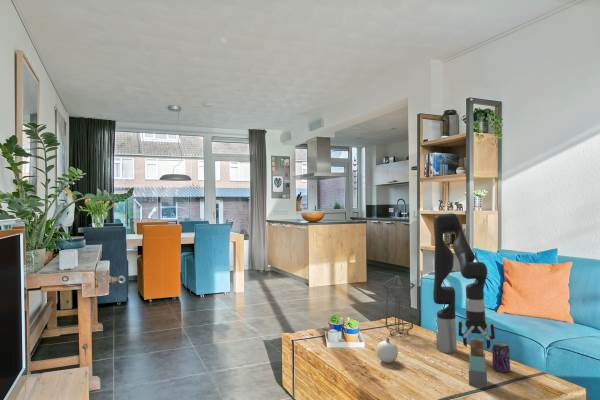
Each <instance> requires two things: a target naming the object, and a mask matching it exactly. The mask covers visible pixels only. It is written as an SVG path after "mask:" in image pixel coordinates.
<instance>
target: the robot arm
mask: <svg viewBox="0 0 600 400" xmlns="http://www.w3.org/2000/svg"><path fill="white" fill-rule="evenodd" d="M433 232H434V234H433V235H434V262H433V263H434V264H433V265H434V267H433V268H434V269H433V270H434V280H433V290H432V291H433V295H432V296H433V302H434V304H437V305H447V306H446V307H445V308H443V309H440V310H437V312H436V322H437V325H436V326H437V330H436V332H435V338H436V350H438V352H441V353H444V354H445V353H446V354H455V353H457V352H458V348H457V345H458V344H457V322H456V321H457V319H456V317H457V316H456V291H455V288H454V287H453V286H444V285H443V283H444V281H445V279H446V278H448V276H449V275H450V273H451V272H452V271H453V268H454V261H455V260H454V259H455V258H454V256H456V258H457V259H458V264H459V269H460V274H461V276H462V277H463V278H464V279H467V280H471V279H472V280H474V282H472V283H469V284H466V285H465V298H466V299H465V316H466V317H465V318H466V319H465V321H462V320H459V321H458V337H462V339H463V340H462V345H463V346H464V347H466V348H467V347H468V344H467V343H468V341H467V336H469V335H470V333H472V334H478V335H480V334H482V335H483V336H484V338H486V350H489V348H490V349H491V341H492V340H495V339H496V334H495V327H494V323H492V322H491V323H487V321H486V304H485V297H484V293H485V292H484V290H485V289H484V288H485V285H486V280H487V275H488V268H487V265H486V264H485V263H484V262H482V261H475V259H476V255H475V254H474V252H473V250H472V248H471V246H470V245H469V243H468V241H467V239H466V236H465V232H464V230H463V226H462V225H461V221H460V220H459V218H458V215H456V213H452V212H451V213H442V214H437V215H435V216H434V218H433ZM448 233H454V234H455V237H454V241H453V245H452V248H453V249H452V250H453V251H452V250H451V249H450V246H448V245H447V244H446V242H445V240H444V234H448ZM453 252H454V253H453ZM454 254H455V255H454ZM442 285H443V286H442ZM464 326H465V327H466V328H467V329H466V330H465V332H464V333H463V332H462V329H463V328H464ZM487 328H488V330H490V335H489V334H488V332H487V331H486V329H487Z"/></svg>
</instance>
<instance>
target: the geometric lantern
mask: <svg viewBox="0 0 600 400" xmlns="http://www.w3.org/2000/svg"><path fill="white" fill-rule="evenodd" d="M387 283H388V284H387ZM396 283H397V285H398V287H396V288H395V289H394V286H395V284H396ZM408 283H409V284H408ZM380 286H381V287H383V288H384V289H385V290H386V298H385V299H386V307H385V311H386V312H385V328H386V329H387V330H388V331H389V335H390V336H393V337H398V338H403V337H405V336H408V335H409V332H410V331H411V330H412V329H414V324H413V323H414V321H413V313H412V303H411V302H412V301H411V298H412V297H411V296H410V291H411V290H412V289H413V288H414V287H415V286H416V284H414V283H413V282H411V281H409V280H407V279H405V278H403V277H402V276H400V275H395V276H394V277H392V278H391V279H388V280H387V281H385V282H383V283H382V284H380ZM400 289H401V290H400ZM398 290H400V292H399V294H397V293H396V291H398ZM402 292H404V293H403V295H401V293H402ZM390 293H392V296H389V295H390ZM405 294H408V296H405ZM392 297H395V299H392ZM397 297H398V298H397ZM400 297H401V298H400ZM403 298H405V299H403ZM388 300H391V301H395V302H396V303H398V305H395V313H394V315H395V316H394V319H395V320H394V322H393V323H390V324H388V307H389V306H388V304H389V303H388ZM407 300H409V311H410V324H405V323H404V316H403V305H402V301H407ZM393 325H395V328H392V327H390V326H393ZM400 325H401V326H402V328H400ZM404 326H408V327H409V328H406V329H405V328H404ZM394 334H395V335H394ZM396 334H399V335H396Z"/></svg>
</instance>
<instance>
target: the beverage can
mask: <svg viewBox="0 0 600 400" xmlns="http://www.w3.org/2000/svg"><path fill="white" fill-rule="evenodd" d="M491 355H492V356H491V357H492V369H493V370H495V371H496V372H499V373H507V372H510V371H511V358H510V357H511V356H510V348H509V344H508V343H507V342H504V341H494V342H492V347H491Z"/></svg>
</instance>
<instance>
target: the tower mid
mask: <svg viewBox="0 0 600 400" xmlns="http://www.w3.org/2000/svg"><path fill="white" fill-rule="evenodd" d="M468 357H469V365H470V370H471V371H480V372H485V367H486V353H485V352H484V357H479V356H471V351H469V356H468Z"/></svg>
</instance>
